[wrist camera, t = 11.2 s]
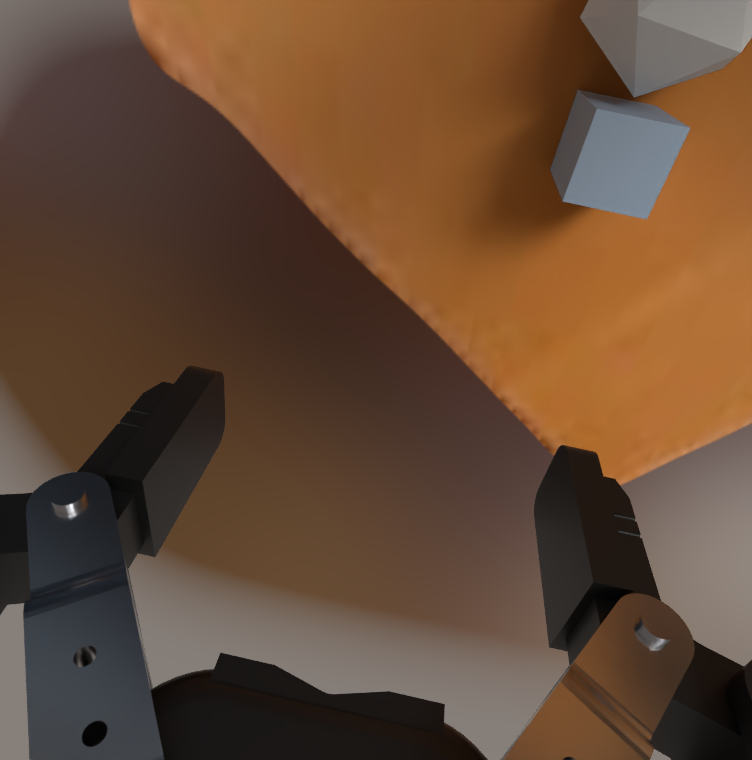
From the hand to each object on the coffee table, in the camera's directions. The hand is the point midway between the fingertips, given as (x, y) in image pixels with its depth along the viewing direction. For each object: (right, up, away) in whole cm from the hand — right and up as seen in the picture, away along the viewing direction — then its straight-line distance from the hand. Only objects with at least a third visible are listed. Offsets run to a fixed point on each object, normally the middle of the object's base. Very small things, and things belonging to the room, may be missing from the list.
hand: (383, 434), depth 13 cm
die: (+14, +17, +17) cm, 28 cm away
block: (+15, +17, +23) cm, 32 cm away
